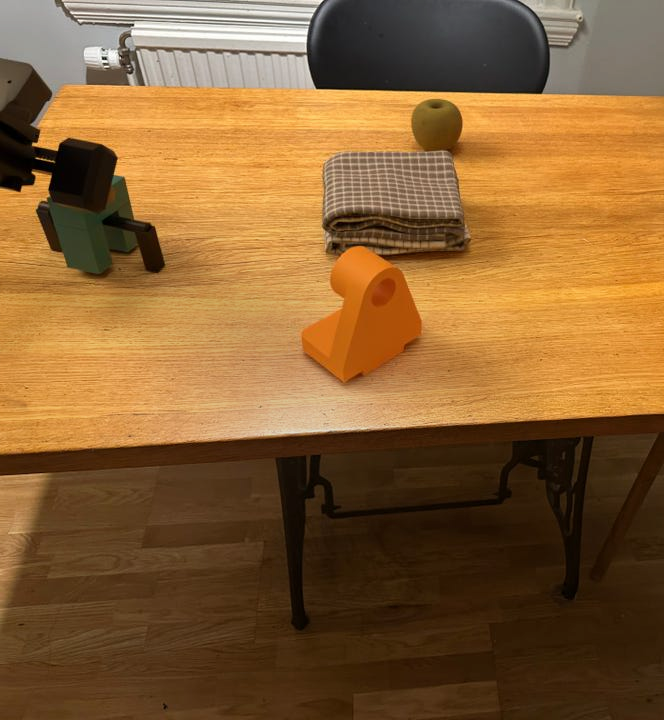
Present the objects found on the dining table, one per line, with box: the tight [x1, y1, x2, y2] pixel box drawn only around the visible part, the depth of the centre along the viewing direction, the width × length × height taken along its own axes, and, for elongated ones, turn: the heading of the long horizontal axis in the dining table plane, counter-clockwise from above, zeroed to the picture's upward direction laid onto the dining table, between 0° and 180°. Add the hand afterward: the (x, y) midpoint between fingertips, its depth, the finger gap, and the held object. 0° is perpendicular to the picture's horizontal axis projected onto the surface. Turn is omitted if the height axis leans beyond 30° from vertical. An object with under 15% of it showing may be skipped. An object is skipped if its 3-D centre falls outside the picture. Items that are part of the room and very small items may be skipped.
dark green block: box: [46, 174, 138, 275], centre depth 78 cm, size 8×4×8 cm, turn 168°
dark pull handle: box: [35, 200, 166, 274], centre depth 79 cm, size 2×14×6 cm, turn 78°
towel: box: [321, 150, 472, 257], centre depth 89 cm, size 15×18×8 cm
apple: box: [410, 98, 464, 152], centre depth 106 cm, size 8×8×7 cm
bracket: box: [300, 246, 423, 383], centre depth 70 cm, size 11×7×12 cm, turn 138°
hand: (73, 188), depth 74 cm, fingers open, 9 cm apart
